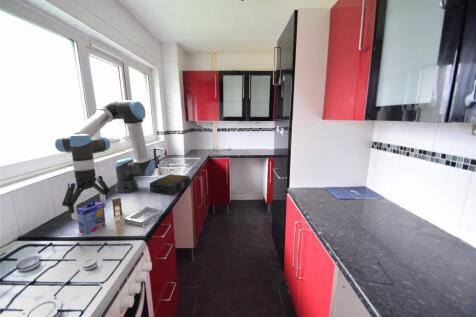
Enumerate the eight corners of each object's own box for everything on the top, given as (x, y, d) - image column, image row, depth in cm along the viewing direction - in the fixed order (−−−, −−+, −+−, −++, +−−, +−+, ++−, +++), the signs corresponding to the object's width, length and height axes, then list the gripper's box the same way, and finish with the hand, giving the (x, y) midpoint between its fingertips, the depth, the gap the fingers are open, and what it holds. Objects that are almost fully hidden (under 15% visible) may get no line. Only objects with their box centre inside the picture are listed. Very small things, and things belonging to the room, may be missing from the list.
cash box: (173, 196, 140) (173, 185, 138) (149, 193, 145) (148, 182, 144) (191, 185, 163) (191, 176, 162) (170, 182, 169) (169, 173, 167)
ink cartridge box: (86, 236, 92) (82, 206, 89) (78, 233, 94) (73, 204, 91) (107, 225, 101) (103, 198, 98) (99, 223, 103) (95, 196, 100)
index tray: (146, 210, 117) (146, 206, 117) (162, 213, 114) (162, 209, 113) (125, 223, 103) (124, 218, 103) (142, 226, 100) (141, 222, 100)
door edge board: (114, 214, 112) (112, 197, 110) (122, 213, 114) (120, 196, 112) (114, 235, 93) (112, 215, 91) (124, 232, 95) (122, 213, 93)
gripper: (104, 163, 104) (108, 201, 108) (46, 174, 81) (54, 223, 85) (115, 164, 102) (119, 203, 106) (58, 176, 79) (66, 226, 83)
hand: (90, 212), depth 96 cm, fingers open, 13 cm apart
